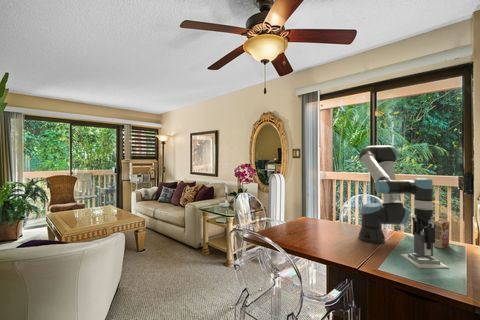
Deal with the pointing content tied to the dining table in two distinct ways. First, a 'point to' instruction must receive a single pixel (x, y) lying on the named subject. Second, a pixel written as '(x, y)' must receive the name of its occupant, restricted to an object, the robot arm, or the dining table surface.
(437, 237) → the candy box
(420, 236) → the block
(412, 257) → the end holder
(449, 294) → the dining table surface
